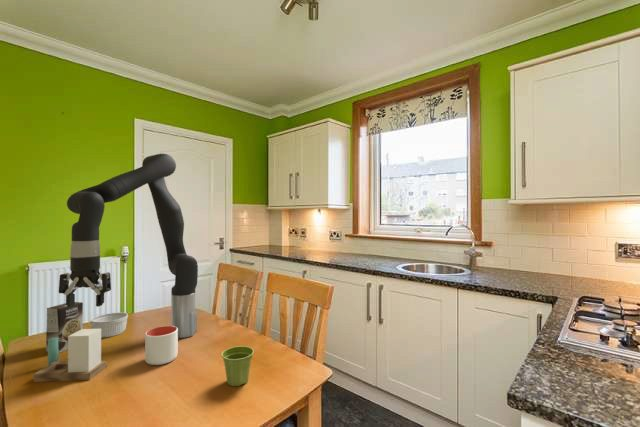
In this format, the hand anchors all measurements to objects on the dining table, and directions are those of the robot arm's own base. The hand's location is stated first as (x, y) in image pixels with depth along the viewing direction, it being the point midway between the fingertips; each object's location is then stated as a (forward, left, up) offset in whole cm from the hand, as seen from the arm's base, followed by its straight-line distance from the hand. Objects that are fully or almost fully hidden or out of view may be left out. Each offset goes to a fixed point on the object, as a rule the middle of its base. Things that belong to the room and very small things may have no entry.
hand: (85, 306), depth 97 cm
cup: (-20, -8, -22) cm, 30 cm away
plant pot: (-49, +8, -22) cm, 54 cm away
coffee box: (+21, -21, -22) cm, 37 cm away
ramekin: (+13, -35, -22) cm, 43 cm away
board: (0, 0, -21) cm, 21 cm away
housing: (0, 0, -19) cm, 19 cm away
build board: (+8, 0, -21) cm, 23 cm away
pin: (+14, -6, -21) cm, 26 cm away
